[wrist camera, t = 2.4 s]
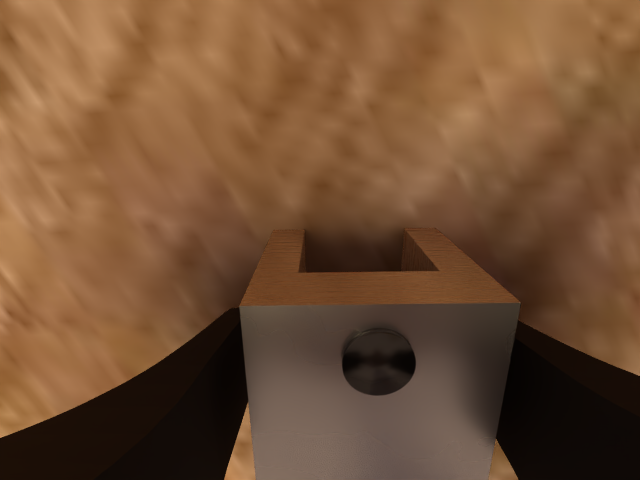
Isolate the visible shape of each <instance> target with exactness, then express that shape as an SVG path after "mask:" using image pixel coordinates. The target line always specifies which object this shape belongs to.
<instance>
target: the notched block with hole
mask: <svg viewBox="0 0 640 480" xmlns="http://www.w3.org/2000/svg"><path fill="white" fill-rule="evenodd" d="M520 306H521V302H520V301H519V300H517V299H516V298H515V297H514V296H513V295H512V294H511V293H509V292H508V291H507V290H506V289H505V288H504V287H503V286H501V285H500V284H499V283H498V282H497V281H496V280H495V279H493V278H492V277H491V276H490V275H489V274H488V273H487V272H485V271H484V270H483V269H482V268H481V267H480V266H478V265H477V264H476V263H475V262H474V261H473V260H472V259H470V258H469V257H468V256H467V255H466V254H465V253H464V252H462V251H461V250H460V249H459V248H458V247H457V246H456V245H454V244H453V243H452V242H451V241H450V240H449V239H447V238H446V237H445V236H444V235H443V234H442V233H441V232H439V231H438V230H437V229H436V228H404V238H403V253H402V269H401V272H324V273H306V261H305V229H303V230H273V232H272V234H271V237H270V239H269V241H268V243H267V246H266V248H265V250H264V252H263V254H262V257H261V259H260V261H259V263H258V266H257V268H256V270H255V272H254V274H253V277H252V279H251V281H250V283H249V286H248V288H247V290H246V292H245V294H244V297H243V299H242V301H241V303H240V305H239V308H240V319H241V329H242V339H243V350H244V360H245V371H246V381H247V392H248V402H249V413H250V423H251V433H252V444H253V454H254V465H255V475H256V480H488V477H489V471H490V466H491V461H492V455H493V450H494V445H495V439H496V434H497V429H498V423H499V418H500V413H501V407H502V402H503V396H504V391H505V386H506V380H507V375H508V370H509V364H510V359H511V354H512V348H513V343H514V338H515V332H516V327H517V322H518V316H519V311H520Z"/></svg>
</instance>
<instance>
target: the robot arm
mask: <svg viewBox="0 0 640 480" xmlns="http://www.w3.org/2000/svg"><path fill="white" fill-rule="evenodd" d="M247 403H248V392H247V381H246V371H245V360H244V350H243V339H242V329H241V319H240V308H231V309H229V310H228V311H227V312H225V313H224V314H223V315H221V316H220V317H219V318H218V319H216V320H215V321H214V322H213V323H211V324H210V325H209V326H208V327H206V328H205V329H204V330H203V331H201V332H200V333H199V334H197V335H196V336H195V337H194V338H192V339H191V340H190V341H188V342H187V343H186V344H184V345H183V346H181V347H180V348H178V349H177V350H176V351H174V352H173V353H171V354H170V355H169V356H167V357H166V358H164V359H163V360H161V361H160V362H158V363H157V364H155V365H154V366H152V367H150V368H149V369H147V370H146V371H144V372H142V373H141V374H139V375H137V376H135V377H134V378H132V379H130V380H129V381H127V382H125V383H123V384H121V385H119V386H118V387H116V388H114V389H112V390H110V391H108V392H106V393H104V394H102V395H100V396H98V397H96V398H94V399H92V400H90V401H88V402H86V403H84V404H82V405H79V406H77V407H75V408H73V409H71V410H68V411H66V412H64V413H62V414H59V415H57V416H55V417H52V418H50V419H48V420H45V421H43V422H40V423H38V424H35V425H33V426H31V427H28V428H26V429H23V430H20V431H18V432H15V433H13V434H10V435H7V436H5V437H2V438H0V480H224V478H225V474H226V470H227V467H228V463H229V460H230V457H231V454H232V451H233V448H234V444H235V441H236V438H237V435H238V432H239V429H240V425H241V422H242V419H243V416H244V413H245V409H246V406H247ZM496 439H497V441H498V443H499V445H500V446H501V448H502V450H503V452H504V453H505V455H506V457H507V459H508V460H509V462H510V464H511V466H512V468H513V469H514V471H515V473H516V475H517V477H518V479H519V480H640V376H638V375H636V374H633V373H631V372H628V371H625V370H623V369H620V368H618V367H615V366H613V365H610V364H608V363H606V362H603V361H601V360H598V359H596V358H594V357H592V356H590V355H587V354H585V353H583V352H581V351H579V350H576V349H574V348H572V347H570V346H568V345H566V344H564V343H562V342H560V341H557V340H555V339H553V338H551V337H549V336H547V335H545V334H543V333H541V332H539V331H537V330H536V329H534V328H532V327H530V326H528V325H526V324H524V323H522V322H520V321H518V322H517V327H516V332H515V338H514V343H513V348H512V354H511V359H510V364H509V370H508V375H507V380H506V386H505V391H504V396H503V402H502V407H501V413H500V418H499V423H498V429H497V434H496Z"/></svg>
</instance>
